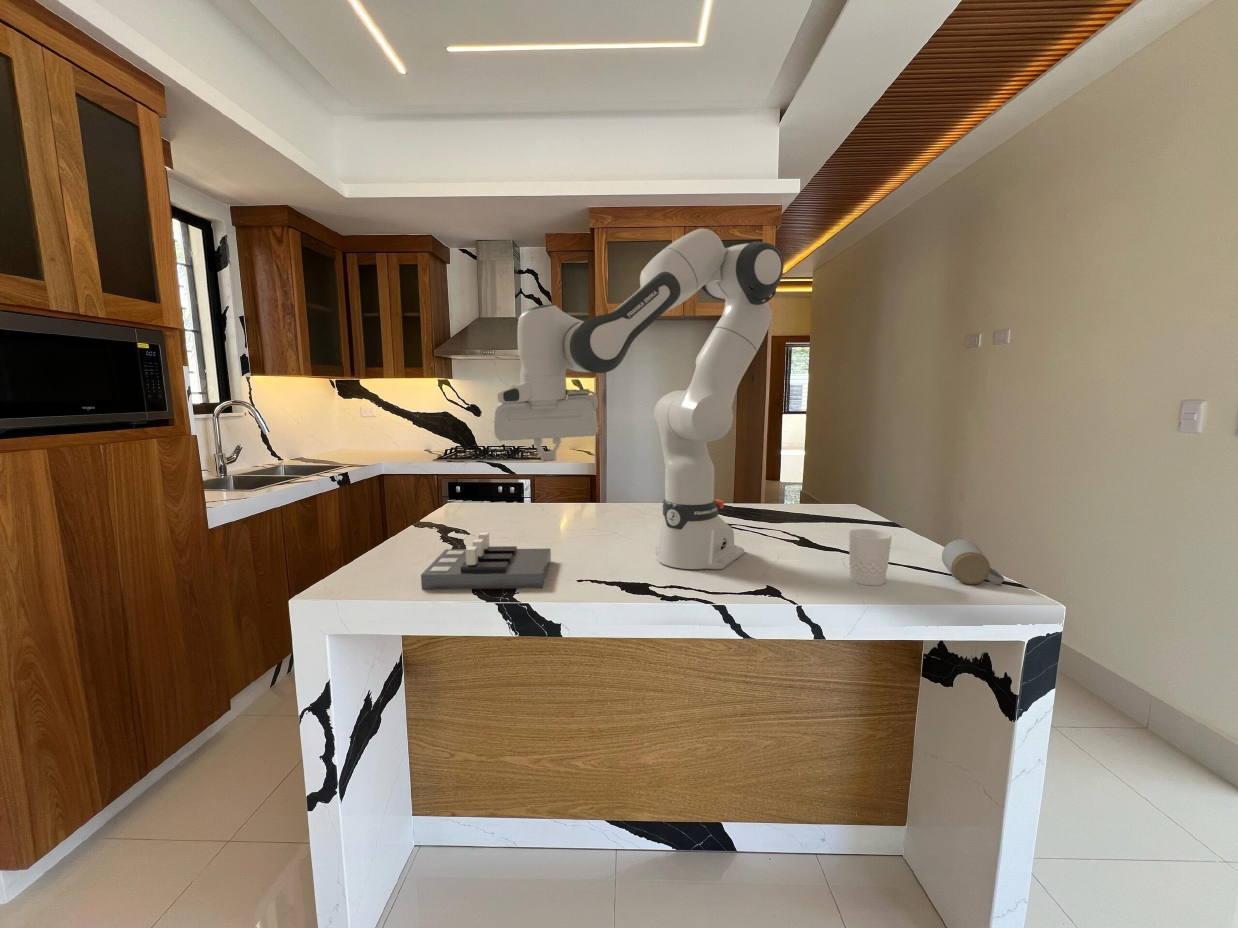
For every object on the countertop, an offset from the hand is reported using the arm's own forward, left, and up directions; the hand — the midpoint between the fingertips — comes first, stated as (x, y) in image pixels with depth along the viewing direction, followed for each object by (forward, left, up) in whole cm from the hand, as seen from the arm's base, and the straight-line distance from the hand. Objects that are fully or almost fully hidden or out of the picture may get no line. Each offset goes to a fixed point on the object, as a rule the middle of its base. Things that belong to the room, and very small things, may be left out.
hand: (548, 460), depth 110 cm
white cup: (-46, +47, -26) cm, 71 cm away
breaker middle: (+8, -15, -21) cm, 27 cm away
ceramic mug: (-62, +62, -26) cm, 91 cm away
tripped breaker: (+12, -11, -21) cm, 26 cm away
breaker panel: (+6, -13, -25) cm, 29 cm away
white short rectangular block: (+4, -19, -21) cm, 29 cm away
